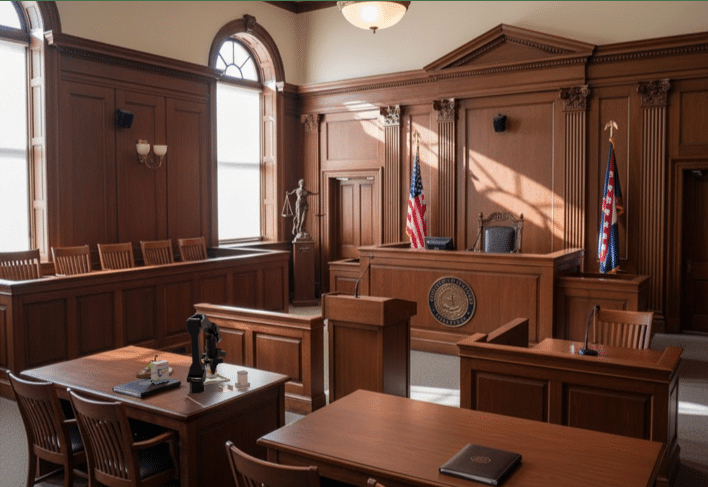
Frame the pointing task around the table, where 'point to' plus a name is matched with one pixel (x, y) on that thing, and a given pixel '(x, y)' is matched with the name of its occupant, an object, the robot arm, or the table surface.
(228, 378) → the tray
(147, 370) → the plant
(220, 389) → the block
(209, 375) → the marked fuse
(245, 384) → the plain fuse
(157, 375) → the ink box
